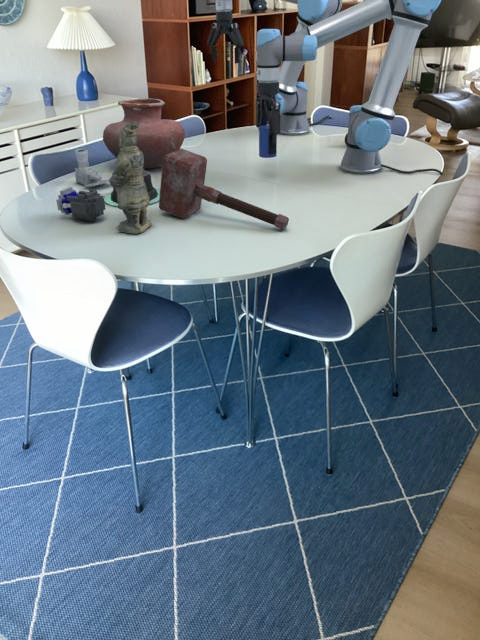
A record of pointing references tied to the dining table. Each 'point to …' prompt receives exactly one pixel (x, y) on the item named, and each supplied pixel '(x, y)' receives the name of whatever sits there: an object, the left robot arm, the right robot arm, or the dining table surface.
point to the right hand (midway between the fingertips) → (267, 151)
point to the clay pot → (146, 131)
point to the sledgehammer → (200, 190)
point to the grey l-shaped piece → (86, 170)
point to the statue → (131, 182)
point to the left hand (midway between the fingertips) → (225, 62)
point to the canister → (265, 142)
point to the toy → (81, 204)
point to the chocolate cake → (152, 192)
